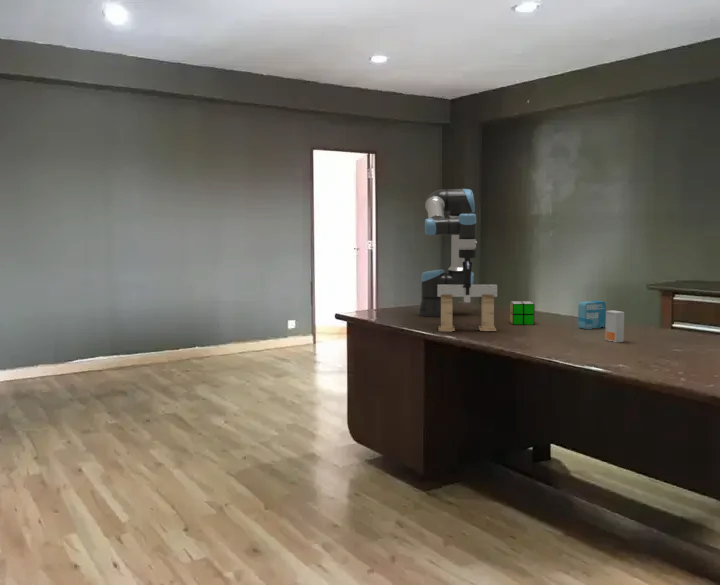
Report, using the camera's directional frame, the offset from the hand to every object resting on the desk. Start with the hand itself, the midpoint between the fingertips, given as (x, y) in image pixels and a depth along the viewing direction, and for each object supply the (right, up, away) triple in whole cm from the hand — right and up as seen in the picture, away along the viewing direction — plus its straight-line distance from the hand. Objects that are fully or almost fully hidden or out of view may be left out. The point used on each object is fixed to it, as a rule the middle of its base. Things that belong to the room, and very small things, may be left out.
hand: (466, 301), depth 298 cm
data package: (+57, -12, +4) cm, 58 cm away
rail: (0, +2, 0) cm, 2 cm away
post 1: (-9, -13, +2) cm, 16 cm away
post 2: (+9, -13, 0) cm, 16 cm away
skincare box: (+54, -16, -30) cm, 64 cm away
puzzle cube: (+29, -11, +20) cm, 37 cm away
